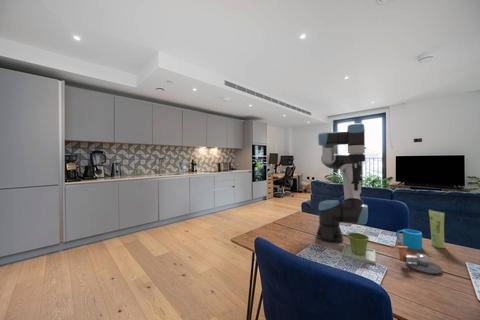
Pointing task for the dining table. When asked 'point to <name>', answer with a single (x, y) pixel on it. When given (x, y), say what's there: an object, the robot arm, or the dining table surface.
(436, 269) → the crank plate
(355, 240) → the plant pot
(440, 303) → the dining table surface
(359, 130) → the robot arm
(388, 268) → the dining table surface
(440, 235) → the tube
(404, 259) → the crank
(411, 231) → the mug
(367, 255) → the tray
